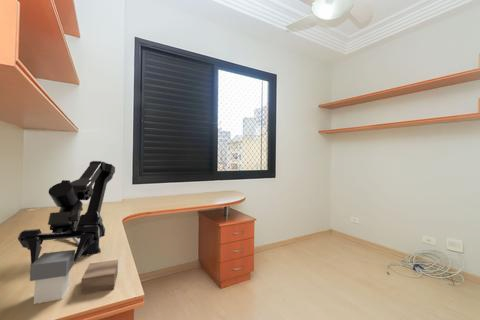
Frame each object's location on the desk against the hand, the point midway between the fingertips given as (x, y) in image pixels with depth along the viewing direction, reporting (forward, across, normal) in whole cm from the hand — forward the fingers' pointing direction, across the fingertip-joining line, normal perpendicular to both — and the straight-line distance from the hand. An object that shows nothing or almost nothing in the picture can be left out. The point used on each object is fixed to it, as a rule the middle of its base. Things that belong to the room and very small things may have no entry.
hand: (54, 264), depth 60 cm
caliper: (-27, -6, +39) cm, 48 cm away
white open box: (+6, 0, +6) cm, 8 cm away
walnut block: (+4, +11, +7) cm, 14 cm away
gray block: (+1, 0, +1) cm, 2 cm away
